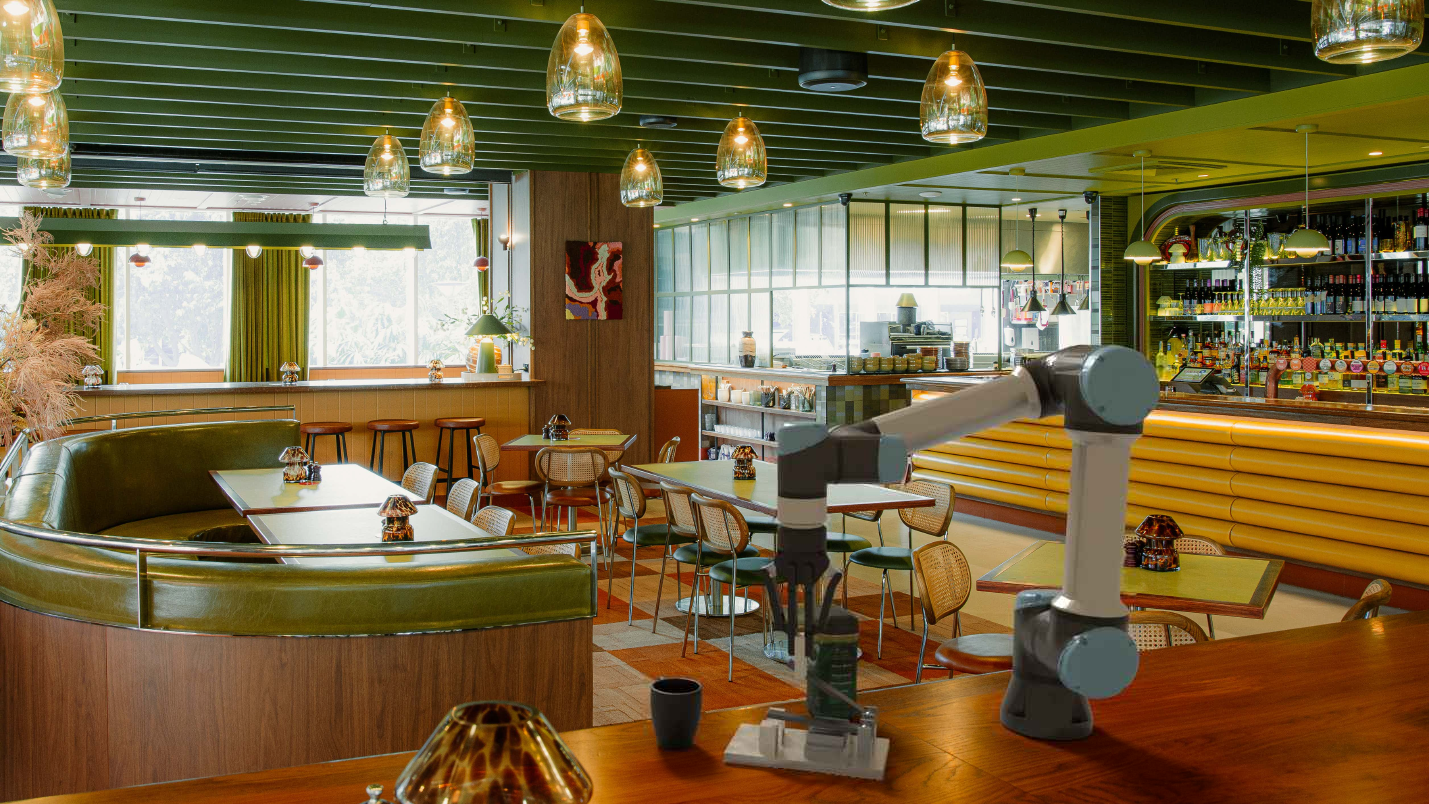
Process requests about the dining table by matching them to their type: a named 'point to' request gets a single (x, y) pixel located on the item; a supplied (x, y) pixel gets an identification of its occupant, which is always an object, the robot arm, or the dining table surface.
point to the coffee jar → (834, 663)
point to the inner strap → (832, 691)
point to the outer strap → (815, 721)
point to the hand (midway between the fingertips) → (800, 676)
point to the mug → (675, 711)
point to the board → (796, 752)
